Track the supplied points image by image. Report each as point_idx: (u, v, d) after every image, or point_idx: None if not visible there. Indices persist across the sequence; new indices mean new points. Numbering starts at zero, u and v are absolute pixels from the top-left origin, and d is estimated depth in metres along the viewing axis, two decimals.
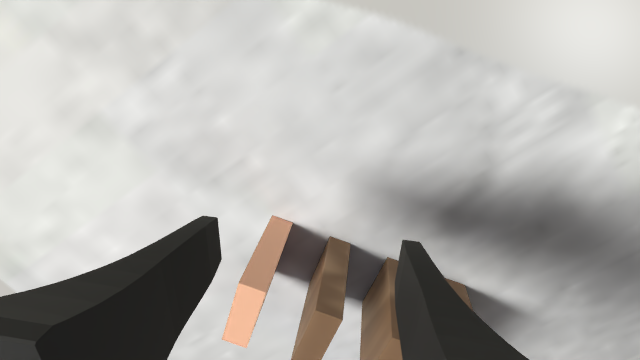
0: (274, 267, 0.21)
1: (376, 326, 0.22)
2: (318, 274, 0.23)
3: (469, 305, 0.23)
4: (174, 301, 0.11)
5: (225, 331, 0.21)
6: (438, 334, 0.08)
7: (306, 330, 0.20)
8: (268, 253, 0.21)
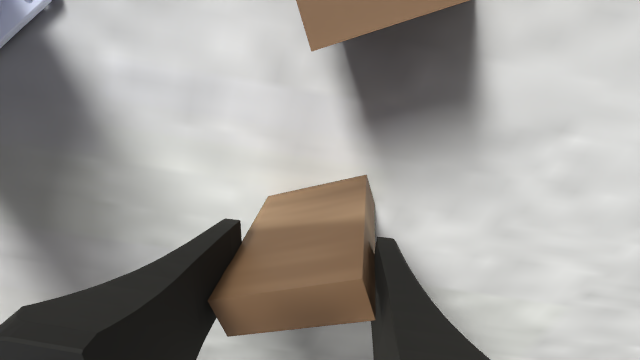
0: None
1: None
2: None
3: None
4: (202, 306, 0.11)
5: None
6: (396, 328, 0.08)
7: None
8: None
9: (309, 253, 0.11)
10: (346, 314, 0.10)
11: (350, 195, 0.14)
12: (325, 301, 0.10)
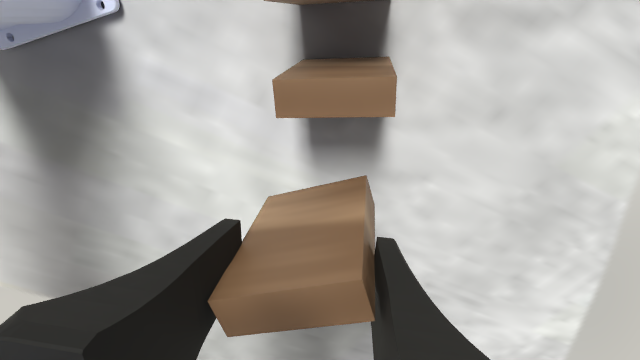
0: None
1: None
2: None
3: None
4: (202, 305, 0.11)
5: None
6: (396, 328, 0.08)
7: None
8: None
9: (309, 253, 0.11)
10: (346, 315, 0.10)
11: (350, 196, 0.14)
12: (325, 302, 0.10)
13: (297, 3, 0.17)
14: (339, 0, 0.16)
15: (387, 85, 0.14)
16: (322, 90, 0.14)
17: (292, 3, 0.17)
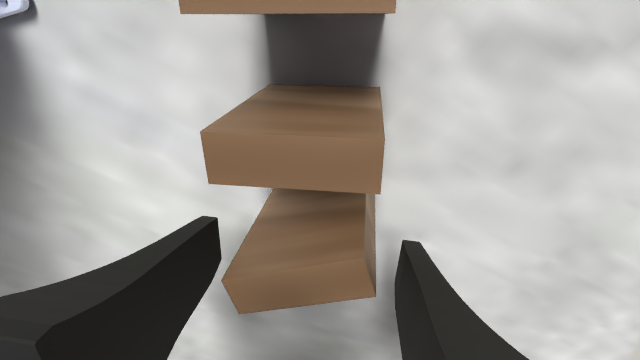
0: None
1: None
2: None
3: None
4: (174, 302, 0.11)
5: None
6: (438, 334, 0.08)
7: None
8: None
9: (314, 236, 0.12)
10: (349, 291, 0.11)
11: None
12: (330, 279, 0.11)
13: None
14: None
15: (370, 150, 0.09)
16: (274, 151, 0.09)
17: None
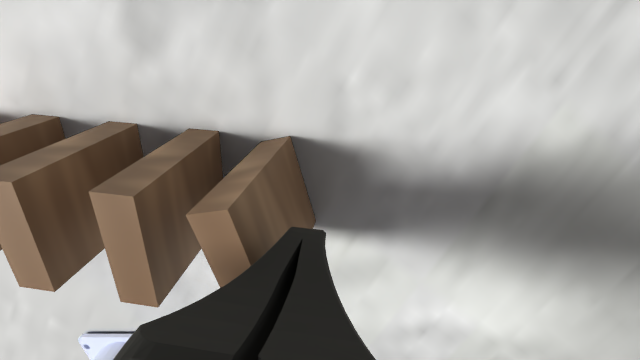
0: None
1: None
2: None
3: (197, 144, 0.16)
4: None
5: None
6: (283, 311, 0.08)
7: None
8: None
9: None
10: (226, 231, 0.11)
11: None
12: (216, 244, 0.12)
13: None
14: None
15: (100, 201, 0.12)
16: (120, 262, 0.13)
17: None
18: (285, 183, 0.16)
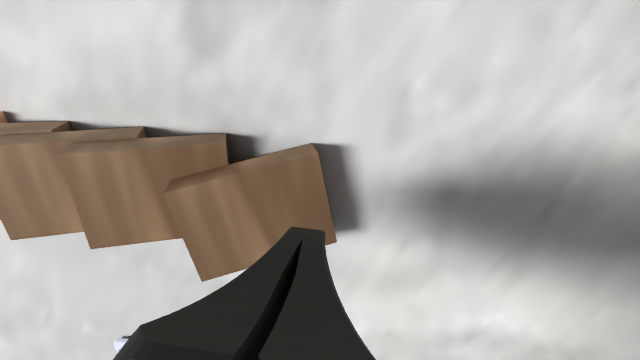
0: None
1: None
2: None
3: (179, 145, 0.16)
4: None
5: None
6: (283, 311, 0.08)
7: None
8: None
9: None
10: None
11: None
12: None
13: None
14: None
15: None
16: None
17: None
18: (277, 194, 0.16)
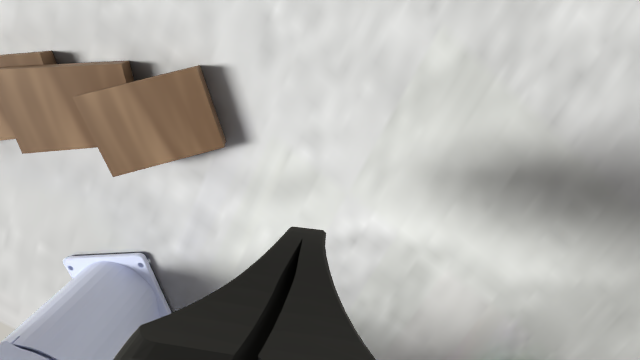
0: None
1: None
2: None
3: (84, 65, 0.20)
4: None
5: None
6: (283, 311, 0.08)
7: None
8: None
9: None
10: None
11: None
12: None
13: None
14: None
15: None
16: None
17: None
18: (166, 102, 0.20)
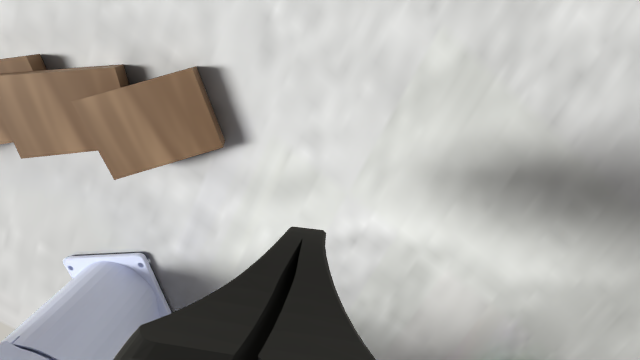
0: None
1: None
2: None
3: (78, 69, 0.20)
4: None
5: None
6: (283, 311, 0.08)
7: None
8: None
9: None
10: None
11: None
12: None
13: None
14: None
15: None
16: None
17: None
18: (164, 104, 0.20)
